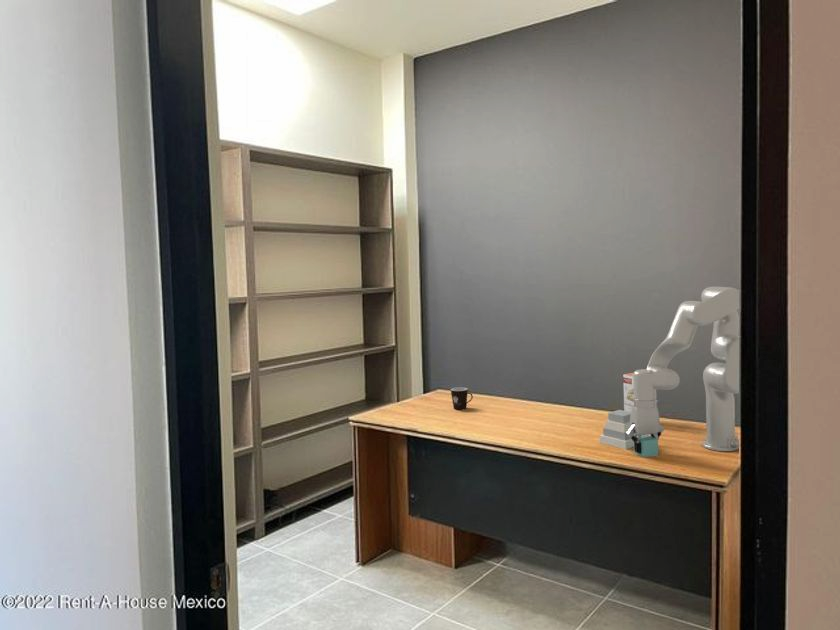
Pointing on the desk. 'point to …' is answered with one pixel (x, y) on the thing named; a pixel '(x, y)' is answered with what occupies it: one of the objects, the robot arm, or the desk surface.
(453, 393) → the coffee mug
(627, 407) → the cracker box
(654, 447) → the small aqua cube
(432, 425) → the desk surface
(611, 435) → the tower
